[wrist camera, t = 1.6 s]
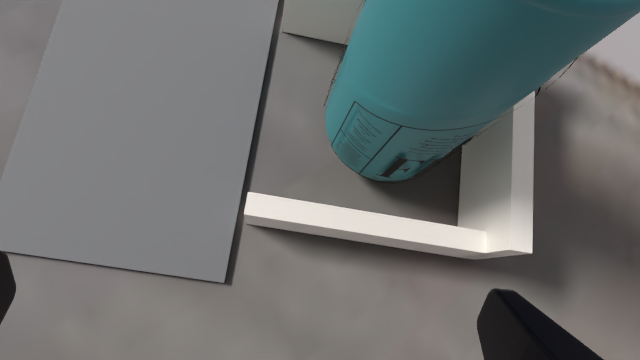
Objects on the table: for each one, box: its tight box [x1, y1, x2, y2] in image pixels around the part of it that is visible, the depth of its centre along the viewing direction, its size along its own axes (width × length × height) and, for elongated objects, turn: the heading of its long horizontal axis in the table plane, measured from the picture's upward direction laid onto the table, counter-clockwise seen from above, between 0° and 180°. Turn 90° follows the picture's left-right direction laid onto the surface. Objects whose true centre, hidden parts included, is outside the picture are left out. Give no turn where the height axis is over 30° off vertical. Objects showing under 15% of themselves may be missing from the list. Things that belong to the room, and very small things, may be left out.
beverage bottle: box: [324, 0, 640, 183], centre depth 14 cm, size 6×7×20 cm
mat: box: [0, 0, 279, 283], centre depth 22 cm, size 18×11×1 cm, turn 172°
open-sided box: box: [244, 0, 535, 260], centre depth 20 cm, size 12×12×6 cm
